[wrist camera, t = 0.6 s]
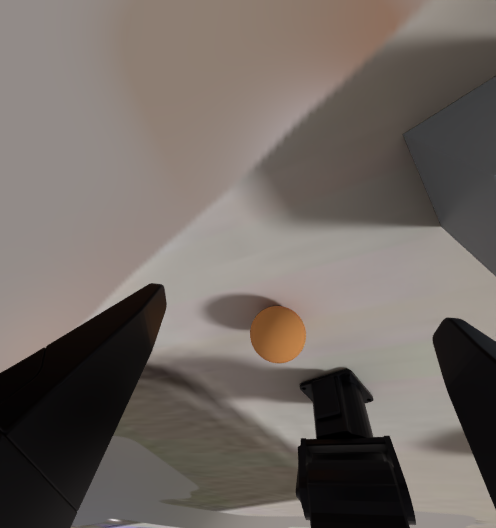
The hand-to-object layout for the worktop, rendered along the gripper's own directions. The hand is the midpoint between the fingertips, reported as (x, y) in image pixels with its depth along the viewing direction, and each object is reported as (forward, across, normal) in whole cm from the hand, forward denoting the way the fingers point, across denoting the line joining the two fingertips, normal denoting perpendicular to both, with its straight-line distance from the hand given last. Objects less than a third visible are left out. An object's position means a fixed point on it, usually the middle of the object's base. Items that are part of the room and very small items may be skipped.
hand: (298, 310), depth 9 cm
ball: (+10, -1, +13) cm, 16 cm away
